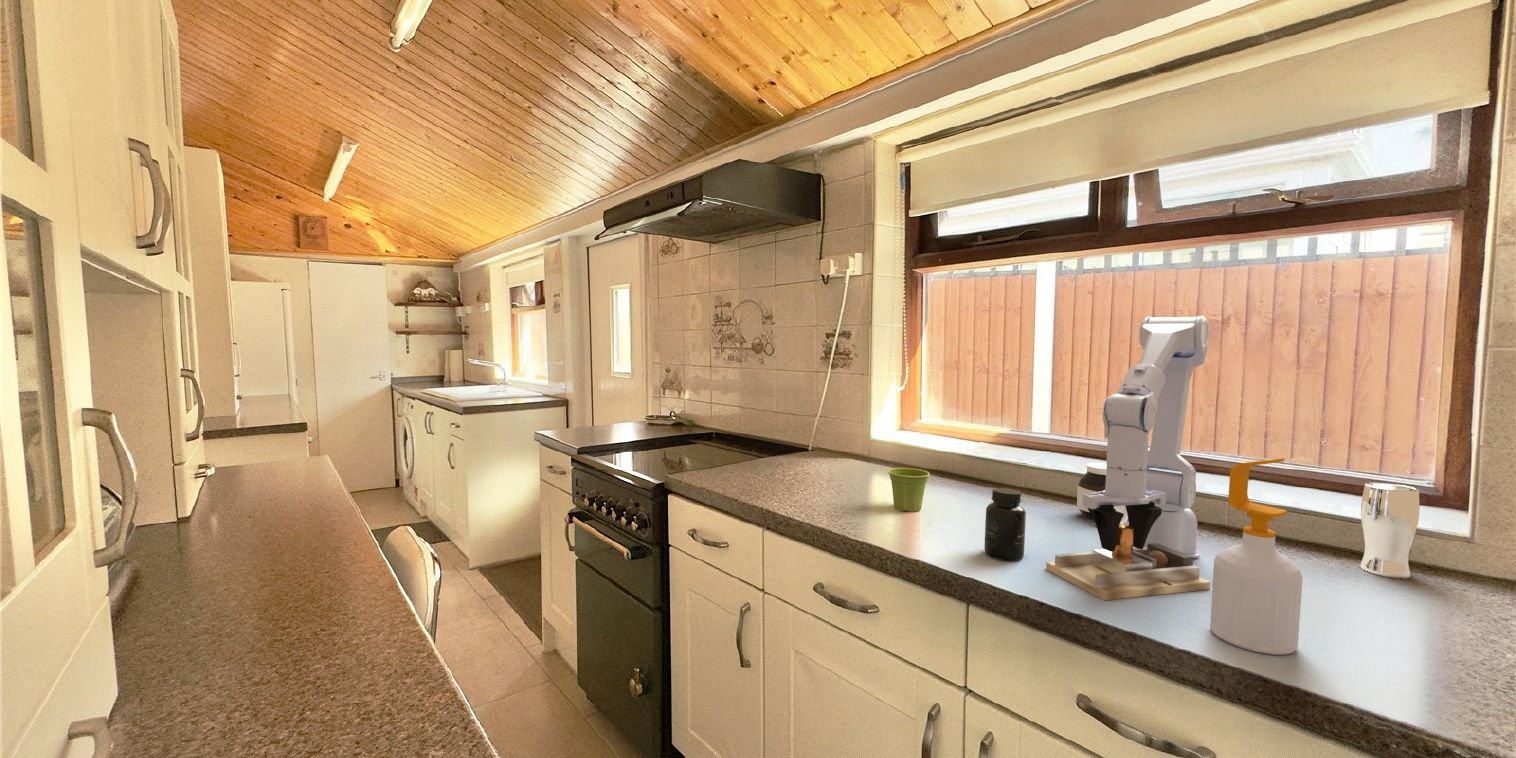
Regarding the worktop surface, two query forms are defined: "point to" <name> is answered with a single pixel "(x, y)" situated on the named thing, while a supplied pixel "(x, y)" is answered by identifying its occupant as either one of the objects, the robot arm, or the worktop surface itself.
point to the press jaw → (1123, 554)
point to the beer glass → (1388, 527)
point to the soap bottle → (1255, 580)
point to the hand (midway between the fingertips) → (1122, 548)
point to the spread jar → (1095, 488)
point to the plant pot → (908, 488)
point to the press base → (1132, 574)
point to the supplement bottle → (1005, 526)
